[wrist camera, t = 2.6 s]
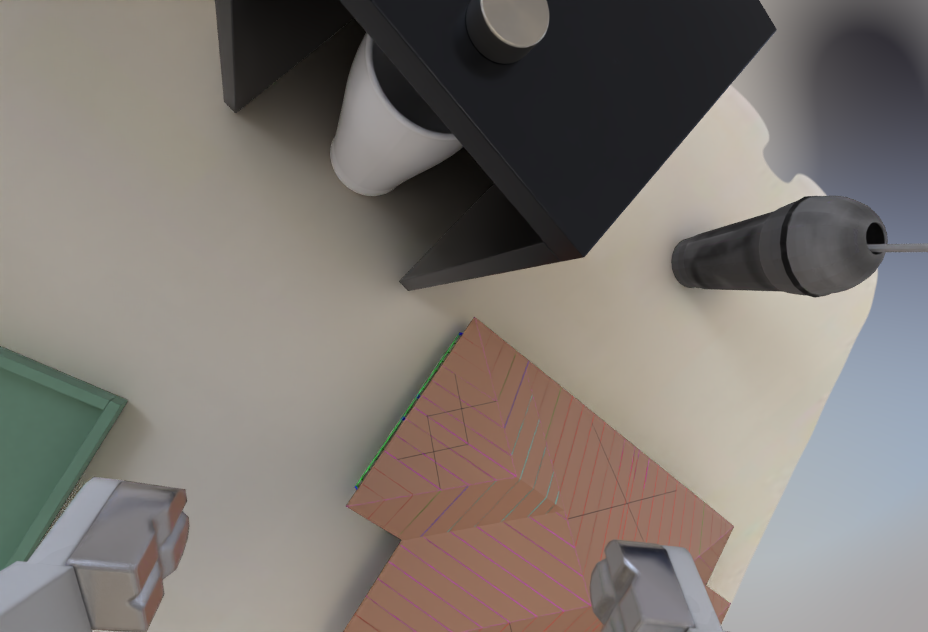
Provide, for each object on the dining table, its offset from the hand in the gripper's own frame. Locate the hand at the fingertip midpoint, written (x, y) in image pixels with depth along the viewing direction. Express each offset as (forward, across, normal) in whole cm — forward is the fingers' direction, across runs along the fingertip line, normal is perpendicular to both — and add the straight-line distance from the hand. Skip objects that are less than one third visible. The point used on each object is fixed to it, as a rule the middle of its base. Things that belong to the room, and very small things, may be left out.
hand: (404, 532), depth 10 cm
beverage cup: (+37, -25, +8) cm, 45 cm away
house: (+19, -13, +28) cm, 36 cm away
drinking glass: (+31, +5, +3) cm, 32 cm away
